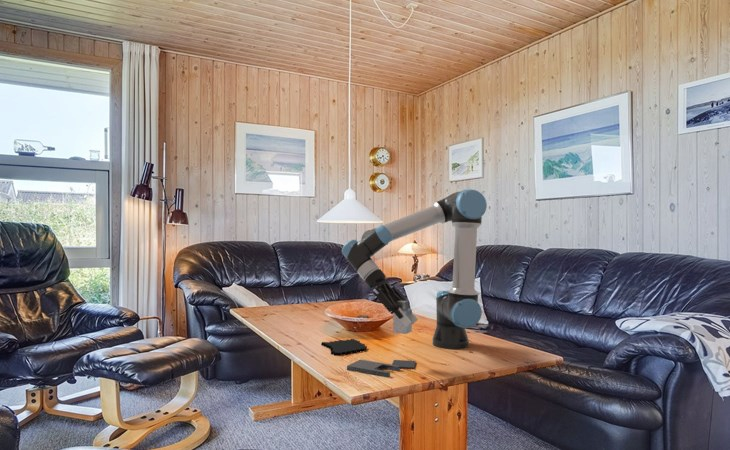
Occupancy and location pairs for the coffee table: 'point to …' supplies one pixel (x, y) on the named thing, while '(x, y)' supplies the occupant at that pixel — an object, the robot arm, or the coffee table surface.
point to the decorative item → (344, 347)
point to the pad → (404, 364)
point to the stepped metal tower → (397, 324)
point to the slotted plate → (372, 367)
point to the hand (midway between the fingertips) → (412, 323)
